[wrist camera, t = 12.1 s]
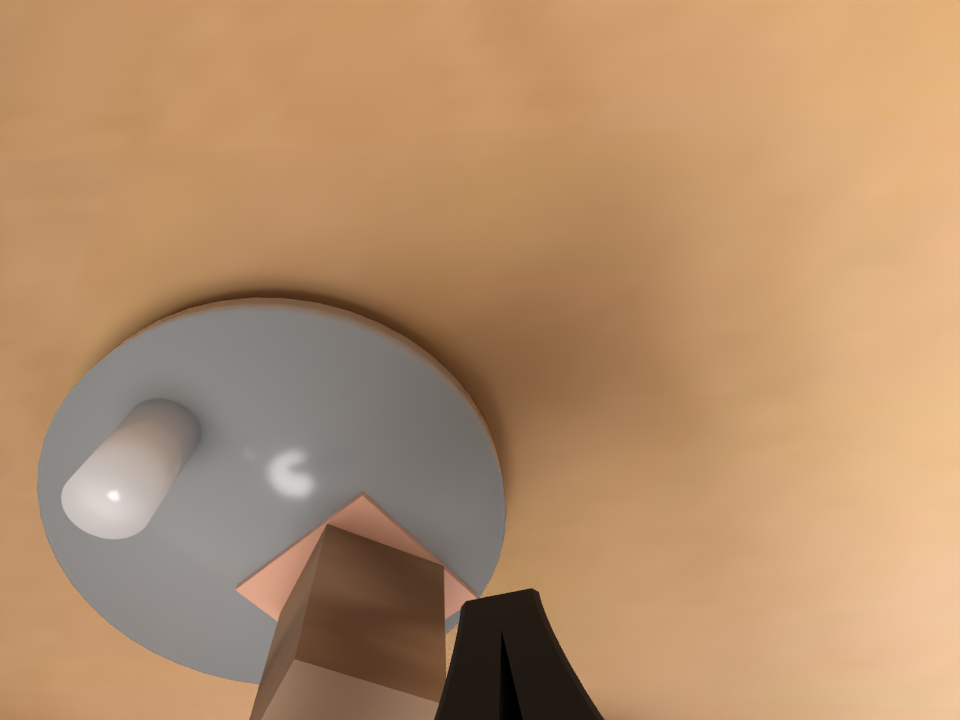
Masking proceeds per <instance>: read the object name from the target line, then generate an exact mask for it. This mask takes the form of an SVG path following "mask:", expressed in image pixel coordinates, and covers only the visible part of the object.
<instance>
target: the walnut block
mask: <svg viewBox="0 0 960 720" xmlns="http://www.w3.org/2000/svg"><path fill="white" fill-rule="evenodd" d="M445 681H446V653H445V596H444V566H443V565H440V564H437V563H434V562H432V561H429V560H426V559H423V558H421V557H418V556H415V555H412V554H410V553H407V552H404V551H401V550H398V549H396V548H393V547H390V546H387V545H385V544H382V543H379V542H376V541H374V540H371V539H368V538H365V537H363V536H360V535H357V534H354V533H351V532H349V531H346V530H343V529H340V528H338V527H335V526H332V525H329V524H327V525H326V526H325V528H324V530H323V532H322V534H321V536H320V538H319V540H318V542H317V544H316V546H315V548H314V549H313V551H312V553H311V555H310V557H309V559H308V561H307V563H306V565H305V567H304V569H303V571H302V572H301V574H300V576H299V578H298V580H297V582H296V584H295V586H294V588H293V590H292V592H291V593H290V595H289V597H288V599H287V601H286V603H285V605H284V607H283V609H282V611H281V613H280V615H279V619H278V622H277V626H276V629H275V633H274V636H273V640H272V643H271V647H270V650H269V654H268V657H267V661H266V664H265V667H264V671H263V674H262V678H261V681H260V685H259V688H258V692H257V695H256V699H255V702H254V706H253V709H252V713H251V716H250V720H434V718H435V715H436V712H437V709H438V705H439V702H440V698H441V695H442V691H443V688H444V685H445Z"/></svg>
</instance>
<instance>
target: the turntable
mask: <svg viewBox="0 0 960 720" xmlns="http://www.w3.org/2000/svg"><path fill="white" fill-rule="evenodd" d="M37 491H38V500H39V508H40V515H41V519H42V522H43V526H44V529H45V533H46V536H47V540H48V542H49V544H50V546H51V548H52V550H53V553H54V555H55V557H56V559H57V561H58V563H59V565H60V566H61V568H62V569H63V571H64V572H65V574H66V576H67V577H68V579H69V580H70V582H71V583H72V585H73V586H74V587H75V588H76V590H77V591H78V592H79V593H80V594H81V595H82V597H83V598H84V599H85V600H86V601H87V603H88V604H89V605H90V606H91V607H92V608H93V609H94V610H96V611H97V612H98V613H99V614H100V615H101V616H102V617H103V618H104V619H105V620H106V621H107V622H108V623H110V624H111V625H112V626H114V627H115V628H116V629H118V630H119V631H120V632H122V633H123V634H124V635H126V636H127V637H129V638H130V639H131V640H133V641H135V642H137V643H138V644H140V645H142V646H143V647H145V648H147V649H148V650H150V651H152V652H153V653H155V654H158V655H160V656H162V657H164V658H166V659H168V660H171V661H173V662H175V663H177V664H179V665H182V666H185V667H188V668H191V669H194V670H196V671H199V672H202V673H205V674H209V675H213V676H217V677H221V678H225V679H229V680H235V681H241V682H247V683H254V684H260V681H261V678H262V674H263V671H264V667H265V664H266V661H267V657H268V654H269V650H270V647H271V643H272V640H273V636H274V633H275V629H276V626H277V622H278V619H279V615H280V613H281V611H282V609H283V607H284V605H285V603H286V601H287V599H288V597H289V595H290V593H291V592H292V590H293V588H294V586H295V584H296V582H297V580H298V578H299V576H300V574H301V572H302V571H303V569H304V567H305V565H306V563H307V561H308V559H309V557H310V555H311V553H312V551H313V549H314V548H315V546H316V544H317V542H318V540H319V538H320V536H321V534H322V532H323V530H324V528H325V526H326V525H327V524H329V525H332V526H335V527H338V528H340V529H343V530H346V531H349V532H351V533H354V534H357V535H360V536H363V537H365V538H368V539H371V540H374V541H376V542H379V543H382V544H385V545H387V546H390V547H393V548H396V549H398V550H401V551H404V552H407V553H410V554H412V555H415V556H418V557H421V558H423V559H426V560H429V561H432V562H434V563H437V564H440V565H443V566H444V596H445V634H447V633H448V632H449V631H450V630H451V629H452V628H453V627H454V626H455V625H456V624H457V623H458V622H459V619H460V611H461V606H462V605H463V604H464V603H465V601H469V600H474V599H479V598H480V596H481V594H482V593H483V591H484V589H485V587H486V586H487V584H488V582H489V581H490V579H491V577H492V574H493V572H494V569H495V567H496V564H497V562H498V559H499V556H500V552H501V547H502V543H503V539H504V533H505V519H506V507H505V496H504V486H503V480H502V474H501V468H500V463H499V459H498V455H497V451H496V447H495V443H494V441H493V438H492V436H491V434H490V431H489V429H488V427H487V424H486V422H485V419H484V418H483V416H482V414H481V413H480V411H479V410H478V408H477V406H476V405H475V403H474V401H473V400H472V398H471V396H470V395H469V394H468V393H467V392H466V390H465V389H464V388H463V387H462V385H461V384H460V383H459V382H458V381H457V379H456V378H455V377H454V376H453V375H452V374H451V373H450V372H449V371H448V370H447V369H446V368H445V367H444V366H443V365H442V364H441V363H440V362H438V361H437V360H436V359H435V358H434V357H433V356H432V355H431V354H429V353H428V352H426V351H425V350H424V349H422V348H421V347H419V346H418V345H417V344H415V343H414V342H413V341H411V340H410V339H408V338H407V337H405V336H403V335H401V334H399V333H398V332H396V331H394V330H392V329H390V328H388V327H387V326H385V325H383V324H381V323H379V322H376V321H374V320H371V319H369V318H366V317H364V316H361V315H359V314H356V313H354V312H351V311H348V310H344V309H340V308H337V307H333V306H329V305H325V304H321V303H317V302H310V301H303V300H296V299H288V298H254V297H252V298H243V299H233V300H224V301H217V302H213V303H209V304H205V305H201V306H196V307H192V308H188V309H186V310H183V311H180V312H178V313H175V314H173V315H170V316H167V317H165V318H162V319H160V320H158V321H156V322H154V323H152V324H151V325H149V326H147V327H145V328H143V329H142V330H140V331H138V332H136V333H135V334H133V335H132V336H130V337H129V338H128V339H126V340H125V341H124V342H123V343H121V344H120V345H119V346H117V347H116V348H115V349H114V350H112V351H111V352H110V353H109V354H107V355H106V356H105V357H104V358H103V359H102V360H100V361H99V362H98V363H97V364H96V365H95V366H93V367H92V368H91V369H90V370H89V371H88V372H87V373H86V374H85V375H84V376H83V377H82V379H81V380H80V381H79V382H78V383H77V384H76V385H75V386H74V387H73V388H72V389H71V390H70V392H69V393H68V395H67V396H66V398H65V399H64V401H63V402H62V404H61V405H60V407H59V408H58V410H57V412H56V413H55V415H54V417H53V420H52V422H51V424H50V427H49V429H48V431H47V434H46V436H45V438H44V443H43V447H42V451H41V455H40V460H39V465H38V484H37Z"/></svg>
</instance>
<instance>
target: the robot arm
mask: <svg viewBox="0 0 960 720" xmlns="http://www.w3.org/2000/svg"><path fill="white" fill-rule="evenodd" d="M434 720H604V719H603V717H602V716H601V714H600V713H599V711H598V710H597V708H596V706H595V705H594V703H593V702H592V700H591V699H590V697H589V695H588V694H587V692H586V691H585V689H584V687H583V685H582V684H581V682H580V680H579V679H578V677H577V675H576V673H575V672H574V670H573V668H572V667H571V665H570V663H569V661H568V660H567V658H566V656H565V654H564V652H563V650H562V648H561V646H560V644H559V642H558V640H557V638H556V636H555V634H554V632H553V630H552V628H551V626H550V623H549V621H548V619H547V616H546V614H545V611H544V608H543V605H542V603H541V599H540V595H539V592H538V591H536V590H534V589H532V588H531V589H526V590H520V591H515V592H510V593H505V594H500V595H495V596H489V597H484V598H479V599H474V600H469V601H465V603H464V604H463V605H462V606H461V611H460V619H459V625H458V631H457V636H456V641H455V646H454V650H453V654H452V658H451V662H450V666H449V671H448V674H447V678H446V681H445V685H444V688H443V691H442V695H441V698H440V702H439V705H438V709H437V712H436V715H435V718H434Z"/></svg>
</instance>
